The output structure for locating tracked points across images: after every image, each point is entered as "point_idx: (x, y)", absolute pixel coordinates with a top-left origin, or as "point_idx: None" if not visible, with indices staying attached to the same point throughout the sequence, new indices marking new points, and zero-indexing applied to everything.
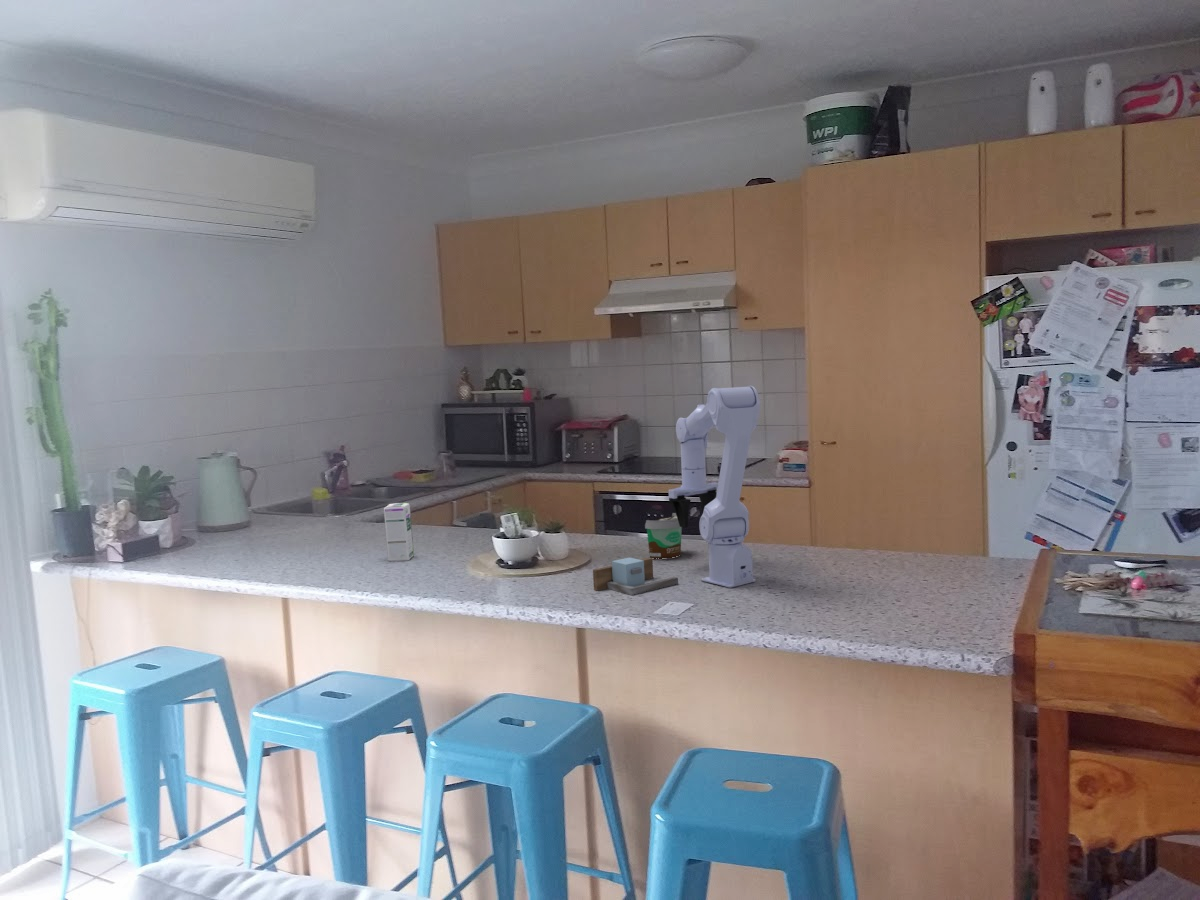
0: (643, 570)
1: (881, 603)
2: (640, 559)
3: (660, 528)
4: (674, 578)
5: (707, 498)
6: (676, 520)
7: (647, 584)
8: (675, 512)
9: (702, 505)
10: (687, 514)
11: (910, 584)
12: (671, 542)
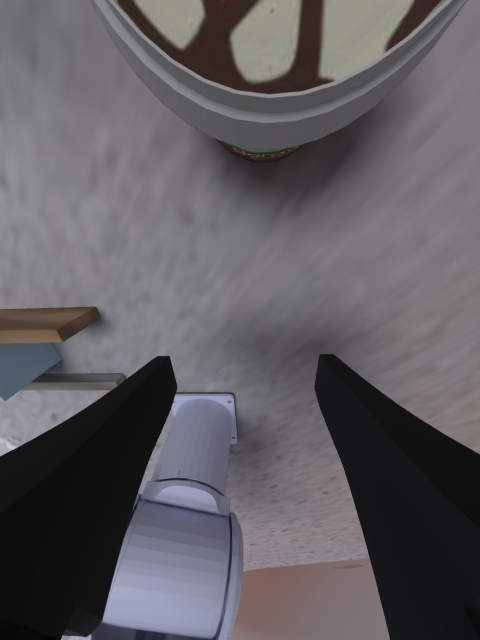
0: (26, 383)
1: (265, 527)
2: (25, 330)
3: (166, 105)
4: (111, 389)
5: (401, 564)
6: (311, 101)
7: (49, 387)
8: (85, 409)
9: (373, 433)
10: (145, 457)
11: (350, 521)
12: (253, 148)
